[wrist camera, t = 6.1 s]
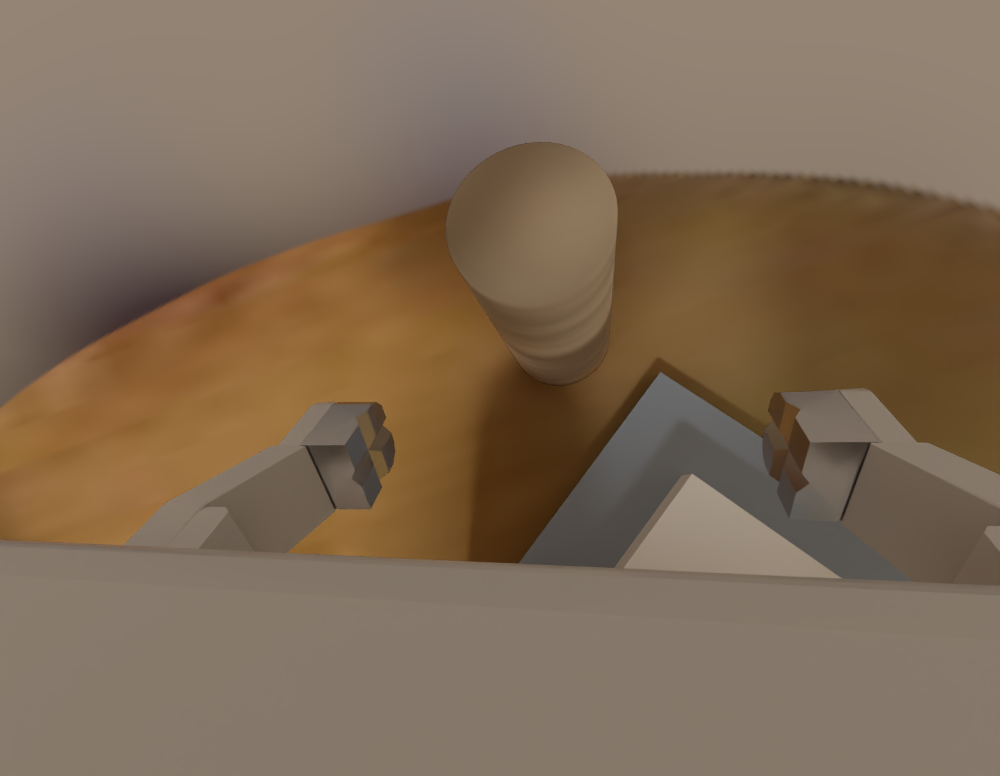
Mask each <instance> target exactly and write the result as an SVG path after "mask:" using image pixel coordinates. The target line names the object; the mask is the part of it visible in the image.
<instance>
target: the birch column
mask: <svg viewBox="0 0 1000 776" xmlns="http://www.w3.org/2000/svg"><path fill="white" fill-rule="evenodd" d="M617 222H618V206H617V198H616V195H615V191H614V188H613V186H612V184H611V181H610V179H609V178H608V176H607V175H606V173H605V172H604V170H603V169H602V168H601V167H600V166H599V165H598V164H597V163H596V162H595V161H594V160H593V159H591V158H590V157H589V156H587V155H585V154H584V153H582V152H581V151H578V150H576V149H574V148H572V147H569V146H565V145H562V144H556V143H550V142H534V143H525V144H520V145H516V146H513V147H510V148H507V149H504V150H502V151H500V152H497V153H496V154H494V155H492V156H490V157H489V158H487V159H486V160H484V161H483V162H482V163H480V164H479V165H478V166H476V167H475V168H474V169H473V170H472V171H471V172H470V173H469V174H468V175H467V177H466V178H465V179H464V180H463V181H462V183H461V184H460V186H459V187H458V189H457V191H456V193H455V194H454V196H453V198H452V201H451V204H450V206H449V210H448V214H447V219H446V240H447V246H448V249H449V252H450V255H451V258H452V260H453V262H454V264H455V266H456V267H457V269H458V270H459V272H460V273H461V275H462V276H463V278H464V280H465V281H466V283H467V284H468V286H469V287H470V289H471V290H472V292H473V294H474V295H475V297H476V298H477V300H478V301H479V303H480V304H481V306H482V308H483V309H484V311H485V312H486V314H487V315H488V317H489V318H490V320H491V322H492V323H493V325H494V326H495V328H496V329H497V331H498V332H499V334H500V336H501V337H502V339H503V340H504V342H505V343H506V345H507V346H508V348H509V350H510V351H511V353H512V354H513V356H514V357H515V359H516V360H517V362H518V364H519V365H520V366H521V368H522V369H523V370H524V371H525V372H526V373H527V374H528V375H529V376H531V377H532V378H534V379H535V380H537V381H540V382H542V383H545V384H549V385H569V384H573V383H576V382H579V381H581V380H583V379H585V378H586V377H588V376H589V375H591V374H592V373H593V372H594V371H595V370H596V369H597V368H598V367H599V365H600V364H601V363H602V361H603V359H604V357H605V355H606V352H607V349H608V344H609V334H610V320H611V306H612V292H613V278H614V264H615V250H616V236H617Z"/></svg>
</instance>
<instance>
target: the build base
mask: <svg viewBox="0 0 1000 776" xmlns="http://www.w3.org/2000/svg"><path fill="white" fill-rule="evenodd" d="M762 440H763V438H762V437H760V436H759V435H757V434H756V433H754V432H752V431H751V430H749V429H748V428H746V427H745V426H743V425H742V424H740V423H739V422H737V421H735V420H734V419H732V418H731V417H729V416H728V415H726V414H725V413H723V412H721V411H720V410H718V409H717V408H715V407H714V406H712V405H711V404H709V403H708V402H706V401H704V400H703V399H701V398H700V397H698V396H697V395H695V394H694V393H692V392H691V391H689V390H687V389H686V388H684V387H683V386H681V385H680V384H678V383H677V382H675V381H674V380H672V379H670V378H669V377H667V376H666V375H664V374H663V373H661V372H660V373H659V375H658V376H657V377H656V379H655V380H654V381H653V383H652V384H651V385H650V387H649V388H648V389H647V391H646V392H645V393H644V395H643V396H642V397H641V399H640V400H639V402H638V403H637V404H636V406H635V407H634V408H633V410H632V411H631V412H630V414H629V415H628V416H627V418H626V419H625V420H624V422H623V423H622V424H621V426H620V427H619V428H618V430H617V431H616V433H615V434H614V435H613V437H612V438H611V439H610V441H609V442H608V443H607V445H606V446H605V447H604V449H603V450H602V451H601V453H600V454H599V455H598V457H597V458H596V460H595V461H594V462H593V464H592V465H591V466H590V468H589V469H588V470H587V472H586V473H585V474H584V476H583V477H582V478H581V480H580V481H579V482H578V484H577V485H576V486H575V488H574V489H573V491H572V492H571V493H570V495H569V496H568V497H567V499H566V500H565V501H564V503H563V504H562V505H561V507H560V508H559V509H558V511H557V512H556V513H555V515H554V516H553V518H552V519H551V520H550V522H549V523H548V524H547V526H546V527H545V528H544V530H543V531H542V532H541V534H540V535H539V536H538V538H537V539H536V540H535V542H534V543H533V545H532V546H531V547H530V549H529V550H528V551H527V553H526V554H525V555H524V557H523V558H522V559H521V561H520V562H519V563H518V564H540V565H562V566H584V567H606V568H627V569H647V570H668V571H689V572H710V573H731V574H752V575H772V576H794V577H817V578H841V579H864V580H887V581H909V582H913V581H912V580H911V579H909V578H908V577H907V576H906V575H904V574H903V573H902V572H901V571H899V570H898V569H897V568H896V567H895V566H893V565H892V564H891V563H890V562H888V561H887V560H886V559H885V558H883V557H882V556H881V555H880V554H878V553H877V552H876V551H875V550H873V549H872V548H871V547H870V546H868V545H867V544H866V543H865V542H863V541H862V540H861V539H860V538H858V537H857V536H856V535H855V534H853V533H852V532H851V531H850V530H848V529H847V528H846V527H845V526H843V525H842V524H841V523H842V522H837V521H817V520H796V519H789V518H788V516H787V513H786V511H785V509H784V507H783V505H782V503H781V500H780V498H779V496H778V494H777V489H778V485H779V482H778V481H777V480H775V479H774V478H772V477H771V476H769V474H768V471H767V469H766V467H765V463H764V459H763V451H762Z"/></svg>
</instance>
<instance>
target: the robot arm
mask: <svg viewBox="0 0 1000 776" xmlns="http://www.w3.org/2000/svg"><path fill="white" fill-rule="evenodd" d="M768 411H769V413H770V415H771V417H772V419H773V420H774V421H773V422H771V423H770V424H769V425H768V426H767V427H766V428H765V429H764V434H763V440H762V451H763V459H764V463H765V467H766V469H767V471H768V474H769V476H771V477H772V478H774V479H775V480H777V481H778V482H779V485H778V489H777V494H778V496H779V498H780V500H781V503H782V505H783V507H784V509H785V511H786V513H787V516H788V518H789V519H796V520H817V521H837V522H842V523H841V524H842V525H843V526H845V527H846V528H847V529H848V530H850V531H851V532H852V533H853V534H855V535H856V536H857V537H858V538H860V539H861V540H862V541H863V542H865V543H866V544H867V545H868V546H870V547H871V548H872V549H873V550H875V551H876V552H877V553H878V554H880V555H881V556H882V557H883V558H885V559H886V560H887V561H888V562H890V563H891V564H892V565H893V566H895V567H896V568H897V569H898V570H899V571H901V572H902V573H903V574H904V575H906V576H907V577H908V578H909V579H911V580H912V581H913V582H909V581H887V580H864V579H841V578H817V577H794V576H772V575H752V574H731V573H710V572H689V571H668V570H647V569H627V568H606V567H584V566H562V565H540V564H517V563H495V562H473V561H451V560H429V559H407V558H385V557H364V556H342V555H320V554H298V553H287V552H288V551H290V550H291V549H292V548H293V547H294V546H295V545H297V544H298V543H299V542H300V541H301V540H302V539H304V538H305V537H306V536H307V535H308V534H309V533H311V532H312V531H313V530H314V529H315V528H316V527H317V526H319V525H320V524H321V523H322V522H323V521H324V520H326V519H327V518H328V517H329V516H330V515H331V514H333V513H334V512H335V509H371V507H372V505H373V503H374V502H375V500H376V498H377V496H378V494H379V492H380V490H381V488H382V486H381V483H380V481H379V479H381V478H382V477H384V476H385V475H386V474H388V473H389V471H390V469H391V467H392V465H393V462H394V455H395V446H394V440H393V437H392V434H391V432H390V431H388V430H387V429H386V428H385V427H384V426H383V423H384V421H385V419H386V416H385V413H384V410H383V408H382V405H380V404H379V403H377V402H337V403H335V402H327V403H316V404H313V405H312V406H311V407H310V408H309V409H308V411H307V412H306V413H305V414H304V415H303V417H302V418H301V419H300V420H299V421H298V422H297V424H296V425H295V426H294V427H293V428H292V430H291V431H290V432H289V433H288V434H287V436H286V437H285V438H284V439H283V440H282V441H281V443H280V444H279V445H278V446H271V447H269V448H267V449H265V450H264V451H262V452H260V453H258V454H256V455H254V456H252V457H251V458H249V459H247V460H245V461H243V462H241V463H239V464H237V465H236V466H234V467H232V468H230V469H228V470H226V471H224V472H223V473H221V474H219V475H217V476H215V477H213V478H211V479H210V480H208V481H206V482H204V483H202V484H200V485H198V486H197V487H195V488H193V489H191V490H189V491H187V492H185V493H184V494H182V495H180V496H178V497H176V498H174V499H172V500H170V501H169V502H167V503H165V504H164V505H163V506H162V507H161V508H160V509H159V510H158V511H157V512H156V513H155V514H154V515H153V516H152V517H151V518H150V519H149V520H148V521H147V522H146V523H145V524H144V525H143V526H142V527H141V528H140V529H139V530H138V531H137V532H136V533H135V534H134V535H133V536H132V537H131V538H130V539H129V540H128V541H127V542H126V543H125V544H124V545H105V544H84V543H63V542H42V541H20V540H0V776H1000V475H999V474H997V473H995V472H993V471H990V470H988V469H986V468H984V467H981V466H979V465H977V464H975V463H972V462H970V461H968V460H966V459H963V458H961V457H959V456H957V455H955V454H952V453H950V452H948V451H946V450H943V449H941V448H939V447H937V446H934V445H932V444H930V443H917V442H916V440H915V439H914V438H913V437H912V436H911V435H910V434H909V433H908V432H907V430H906V429H905V428H904V427H903V426H902V425H901V424H900V423H899V422H898V420H897V419H896V418H895V417H894V416H893V415H892V414H891V413H890V412H889V410H888V409H887V408H886V407H885V406H884V405H883V404H882V403H881V402H880V400H879V399H878V398H877V397H876V396H875V395H874V394H873V393H872V392H871V391H870V390H868V389H865V388H855V389H837V390H825V391H801V392H776V393H774V394H773V396H772V398H771V400H770V404H769V409H768Z"/></svg>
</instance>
